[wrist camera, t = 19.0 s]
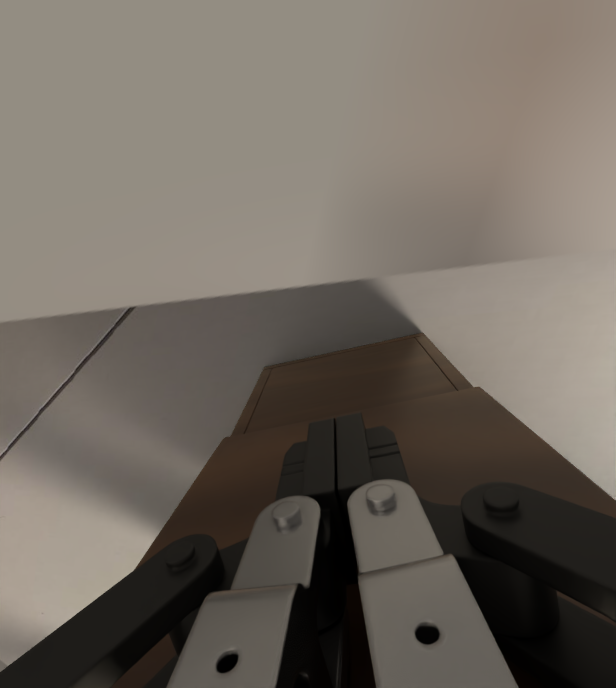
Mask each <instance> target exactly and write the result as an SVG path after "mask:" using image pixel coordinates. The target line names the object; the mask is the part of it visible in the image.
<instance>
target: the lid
mask: <svg viewBox="0 0 616 688" xmlns="http://www.w3.org/2000/svg"><path fill="white" fill-rule="evenodd" d="M358 412H361V413H362V417H363V421H364V425H365V429H367V428H372V427H377V426H382V425H384V426H386V427H387V428H388V429H390V430H391V431H393V432H394V434H395V437H396V440H397V444H398V447H399V450H400V453H401V456H402V459H403V463H404V466H405V469H406V472H407V475H408V478H409V482H410V485H411V487H412V488H413V489H414V491H415V492H416V494H417V495H418V496H420V497H421V498H423V499H425V500H427V501H430V502H433V503H437V504H444V505H461V499H462V497H463V496H464V494H465V493H466V492H467V491H468V490H470V489H471V488H473V487H475V486H477V485H480V484H484V483H489V482H511V483H516V484H519V485H523V486H526V487H529V488H531V489H534V490H537V491H540V492H543V493H546V494H549V495H551V496H554V497H557V498H560V499H563V500H566V501H569V502H572V503H574V504H577V505H580V506H583V507H586V508H589V509H592V510H594V511H597V512H600V513H603V514H606V515H609V516H612V517H614V518H616V500H614V499H613V498H612V497H611V496H610V495H608V494H607V493H606V492H605V491H604V490H602V489H601V488H600V487H599V486H598V485H596V484H595V483H594V482H593V481H592V480H590V479H589V478H588V477H587V476H586V475H585V474H583V473H582V472H581V471H580V470H579V469H577V468H576V467H575V466H574V465H573V464H571V463H570V462H569V461H568V460H567V459H565V458H564V457H563V456H562V455H561V454H559V453H558V452H557V451H556V450H555V449H553V448H552V447H551V446H550V445H549V444H547V443H546V442H545V441H544V440H543V439H541V438H540V437H539V436H538V435H537V434H535V433H534V432H533V431H532V430H531V429H529V428H528V427H527V426H526V425H525V424H523V423H522V422H521V421H520V420H519V419H517V418H516V417H515V416H514V415H513V414H511V413H510V412H509V411H508V410H507V409H505V408H504V407H503V406H502V405H501V404H499V403H498V402H497V401H496V400H495V399H494V398H492V397H491V396H490V395H489V394H488V393H486V392H485V391H484V390H483V389H482V388H480V387H473V388H468V389H464V390H459V391H454V392H449V393H444V394H439V395H434V396H429V397H424V398H419V399H414V400H409V401H404V402H399V403H394V404H389V405H384V406H379V407H374V408H369V409H364V410H359V411H354V412H349V413H344V414H339V415H334V416H329V417H324V418H319V419H314V420H309V421H304V422H299V423H295V424H290V425H285V426H280V427H275V428H270V429H265V430H260V431H255V432H250V433H245V434H240V435H235V436H230V437H225V438H223V440H222V441H221V443H220V444H219V446H218V447H217V448H216V450H215V451H214V453H213V454H212V456H211V457H210V459H209V460H208V462H207V463H206V465H205V466H204V468H203V469H202V471H201V472H200V474H199V475H198V477H197V478H196V480H195V481H194V483H193V484H192V485H191V487H190V488H189V490H188V491H187V493H186V494H185V496H184V497H183V499H182V500H181V502H180V503H179V505H178V506H177V508H176V509H175V511H174V512H173V514H172V515H171V517H170V518H169V520H168V521H167V523H166V524H165V525H164V527H163V528H162V530H161V531H160V533H159V534H158V536H157V537H156V539H155V540H154V542H153V543H152V545H151V546H150V548H149V549H148V551H147V552H146V554H145V555H144V557H143V558H142V560H141V561H140V562H139V564H138V565H137V567H136V568H135V569H137V568H138V567H139V566H141V565H142V564H143V563H145V562H146V561H147V560H148V559H150V558H151V557H152V556H154V555H155V554H156V553H158V552H159V551H160V550H162V549H163V548H164V547H166V546H167V545H169V544H170V543H172V542H174V541H176V540H178V539H180V538H182V537H185V536H188V535H193V534H207V535H209V536H211V537H213V538H214V540H215V541H216V544H217V547H218V550H220V549H223V548H225V547H228V546H230V545H233V544H235V543H238V542H240V541H242V540H244V539H246V538H248V537H250V534H251V531H252V529H253V526H254V523H255V521H256V519H257V517H258V515H259V514H260V513H261V512H262V510H263V509H265V508H266V507H267V506H269V505H270V504H272V503H273V502H275V498H276V493H277V488H278V483H279V479H280V476H281V469H282V467H283V460H284V455H285V453H286V452H287V451H288V450H289V448H290V447H291V446H292V445H293V444H294V443H297V442H302V441H307V435H308V426H309V423H310V422H315V421H319V420H324V419H329V418H335V420H336V417H339V416H344V415H349V414H353V413H358ZM357 567H358V566H357ZM358 573H359V570H358ZM557 595H558V596H560V597H562V598H564V599H565V600H567V601H569V602H571V603H573V604H575V605H577V606H579V607H580V608H582V609H584V610H586V611H588V612H590V613H592V614H594V615H596V616H597V617H599V618H601V619H603V620H605V621H607V622H609V623H611V624H612V625H614V626H616V623H615V622H614V621H612V620H611V619H609V618H608V617H606V616H604V615H602V614H600V613H599V612H597V611H595V610H593V609H591V608H589V607H587V606H585V605H583V604H581V603H579V602H578V601H576V600H574V599H572V598H570V597H568V596H566V595H564V594H562V593H560V592H559V591H557ZM346 606H347V609H348V613H349V618H350V626H349V654H348V682H347V688H376V683H375V677H374V671H373V665H372V659H371V654H370V648H369V642H368V636H367V630H366V624H365V619H364V613H363V607H362V601H361V595H360V590H359V584H351V585H347V603H346ZM175 655H176V651H175V649H174V646H173V644H172V641H171V639H170V636H169V634H167V635H166V636H165V637H164V638H163V639H162V640H160V641H159V642H158V643H157V644H156V645H155V646H154V647H153V648H152V649H151V650H150V651H149V652H148V653H146V654H145V655H144V656H143V657H142V658H141V659H140V660H139V661H138V662H137V663H136V664H135V665H133V666H132V667H131V668H130V669H129V670H128V671H127V672H126V673H125V674H124V675H123V676H122V677H121V678H119V679H118V680H117V681H116V682H115V683H114V684H113V685H112V686H111V688H142V687H143V686H144V685H145V684H146V683H147V682H148V681H149V680H151V679H152V678H153V677H154V676H155V675H156V674H157V673H158V672H159V671H160V670H161V669H162V668H163V667H164V666H165V665H166V664H167V663H168V662H169V661H170V660H171V659H172V658H173V657H174V656H175ZM503 657H504V659H505V661H506V663H507V665H508V667H509V669H510V671H511V673H512V675H513V677H514V680H515V682H516V684H517V686H518V688H548V687H546V686H545V685H544V684H542V683H541V682H539V681H538V680H537V679H535V678H534V677H533V676H531V675H530V674H528V673H527V672H526V671H524V670H523V669H521V668H520V667H519V666H517V665H516V664H514V663H513V662H512V661H510V660H509V659H507V658H506V657H505V656H503Z"/></svg>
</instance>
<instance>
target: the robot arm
mask: <svg viewBox="0 0 616 688" xmlns="http://www.w3.org/2000/svg"><path fill="white" fill-rule="evenodd" d="M357 566H358V567H357ZM358 570H359V573H358ZM351 584H359V590H360V595H361V601H362V607H363V613H364V619H365V624H366V630H367V636H368V642H369V648H370V654H371V659H372V665H373V671H374V677H375V683H376V688H518V686H517V684H516V682H515V680H514V677H513V675H512V673H511V671H510V669H509V667H508V665H507V663H506V661H505V659H504V657H503V656H505V657H506V658H507V659H509V660H510V661H512V662H513V663H514V664H516V665H517V666H519V667H520V668H521V669H523V670H524V671H526V672H527V673H528V674H530V675H531V676H533V677H534V678H535V679H537V680H538V681H539V682H541V683H542V684H544V685H545V686H546V687H548V688H616V626H614V625H612V624H611V623H609V622H607V621H605V620H603V619H601V618H599V617H597V616H596V615H594V614H592V613H590V612H588V611H586V610H584V609H582V608H580V607H579V606H577V605H575V604H573V603H571V602H569V601H567V600H565V599H564V598H562V597H560V596H558V595H557V591H559V592H560V593H562V594H564V595H566V596H568V597H570V598H572V599H574V600H576V601H578V602H579V603H581V604H583V605H585V606H587V607H589V608H591V609H593V610H595V611H597V612H599V613H600V614H602V615H604V616H606V617H608V618H609V619H611V620H612V621H614V622H615V623H616V518H614V517H612V516H609V515H606V514H603V513H600V512H597V511H594V510H592V509H589V508H586V507H583V506H580V505H577V504H574V503H572V502H569V501H566V500H563V499H560V498H557V497H554V496H551V495H549V494H546V493H543V492H540V491H537V490H534V489H531V488H529V487H526V486H523V485H519V484H516V483H511V482H489V483H484V484H480V485H477V486H475V487H473V488H471V489H470V490H468V491H467V492H466V493H465V494H464V496H463V497H462V499H461V505H444V504H437V503H433V502H430V501H427V500H425V499H423V498H421V497H420V496H418V495H417V494H416V492H415V491H414V489H413V488H412V487H411V485H410V482H409V478H408V475H407V472H406V469H405V466H404V463H403V459H402V456H401V453H400V450H399V447H398V444H397V440H396V437H395V434H394V432H393V431H391V430H390V429H388V428H387V427H386V426H384V425H382V426H377V427H372V428H367V429H365V425H364V421H363V417H362V413H361V412H358V413H353V414H349V415H344V416H339V417H336V420H335V418H329V419H324V420H319V421H315V422H310V423H309V426H308V435H307V441H302V442H297V443H294V444H293V445H292V446H291V447H290V448H289V450H288V451H287V452H286V453H285V455H284V460H283V467H282V469H281V476H280V479H279V483H278V488H277V493H276V498H275V502H273V503H272V504H270V505H269V506H267V507H266V508H265V509H263V510H262V512H261V513H260V514H259V515H258V517H257V519H256V521H255V523H254V526H253V529H252V531H251V534H250V537H248V538H246V539H244V540H242V541H240V542H238V543H235V544H233V545H230V546H228V547H225V548H223V549H220V550H218V547H217V544H216V541H215V540H214V538H213V537H211V536H209V535H207V534H193V535H188V536H185V537H182V538H180V539H178V540H176V541H174V542H172V543H170V544H169V545H167V546H166V547H164V548H163V549H162V550H160V551H159V552H158V553H156V554H155V555H154V556H152V557H151V558H150V559H148V560H147V561H146V562H145V563H143V564H142V565H141V566H139V567H138V568H137V569H135V570H134V571H133V572H131V573H130V574H129V575H127V576H126V577H125V578H123V579H122V580H121V581H120V582H118V583H117V584H116V585H114V586H113V587H112V588H110V589H109V590H108V591H106V592H105V593H104V594H102V595H101V596H100V597H98V598H97V599H96V600H95V601H93V602H92V603H91V604H89V605H88V606H87V607H85V608H84V609H83V610H81V611H80V612H79V613H77V614H76V615H75V616H74V617H72V618H71V619H70V620H68V621H67V622H66V623H64V624H63V625H62V626H60V627H59V628H58V629H56V630H55V631H54V632H52V633H51V634H50V635H49V636H47V637H46V638H45V639H43V640H42V641H41V642H39V643H38V644H37V645H35V646H34V647H33V648H31V649H30V650H29V651H27V652H26V653H25V654H24V655H22V656H21V657H20V658H18V659H17V660H16V661H14V662H13V663H12V664H10V665H9V666H8V667H6V668H5V669H4V670H3V671H1V672H0V688H111V686H112V685H113V684H114V683H115V682H116V681H117V680H118V679H119V678H121V677H122V676H123V675H124V674H125V673H126V672H127V671H128V670H129V669H130V668H131V667H132V666H133V665H135V664H136V663H137V662H138V661H139V660H140V659H141V658H142V657H143V656H144V655H145V654H146V653H148V652H149V651H150V650H151V649H152V648H153V647H154V646H155V645H156V644H157V643H158V642H159V641H160V640H162V639H163V638H164V637H165V636H166V635H167V634H169V636H170V639H171V641H172V644H173V646H174V649H175V651H176V655H175V656H174V657H173V658H172V659H171V660H170V661H169V662H168V663H167V664H166V665H165V666H164V667H163V668H162V669H161V670H160V671H159V672H158V673H157V674H156V675H155V676H154V677H153V678H152V679H151V680H149V681H148V682H147V683H146V684H145V685H144V686H143V687H142V688H347V682H348V654H349V626H350V618H349V613H348V609H347V606H346V603H347V585H351Z"/></svg>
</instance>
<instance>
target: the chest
mask: <svg viewBox="0 0 616 688" xmlns="http://www.w3.org/2000/svg"><path fill="white" fill-rule="evenodd" d="M468 388H473V386H472V385H471V384H470V383H469V382H468V381H467V380H466V379H465V377H464V376H463V375H462V374H461V373H460V372H459V371H458V370H457V369H456V368H455V367H454V366H453V365H452V363H451V362H450V361H449V360H448V359H447V358H446V357H445V356H444V355H443V354H442V353H441V352H440V351H439V350H438V348H437V347H436V346H435V345H434V344H433V343H432V342H431V341H430V340H429V339H428V338H427V337H426V336H425V334H424V333H419V334H414V335H409V336H405V337H400V338H396V339H391V340H387V341H382V342H377V343H373V344H368V345H364V346H359V347H354V348H350V349H345V350H341V351H336V352H331V353H327V354H322V355H318V356H313V357H308V358H304V359H299V360H295V361H290V362H285V363H281V364H276V365H272V366H267V367H264V369H263V371H262V373H261V375H260V377H259V379H258V381H257V383H256V385H255V387H254V389H253V391H252V393H251V395H250V397H249V399H248V402H247V404H246V406H245V408H244V410H243V412H242V414H241V416H240V418H239V420H238V422H237V424H236V426H235V428H234V430H233V432H232V434H231V436H235V435H240V434H245V433H250V432H255V431H260V430H265V429H270V428H275V427H280V426H285V425H290V424H295V423H299V422H304V421H309V420H314V419H319V418H324V417H329V416H334V415H339V414H344V413H349V412H354V411H359V410H364V409H369V408H374V407H379V406H384V405H389V404H394V403H399V402H404V401H409V400H414V399H419V398H424V397H429V396H434V395H439V394H444V393H449V392H454V391H459V390H464V389H468Z"/></svg>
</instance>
